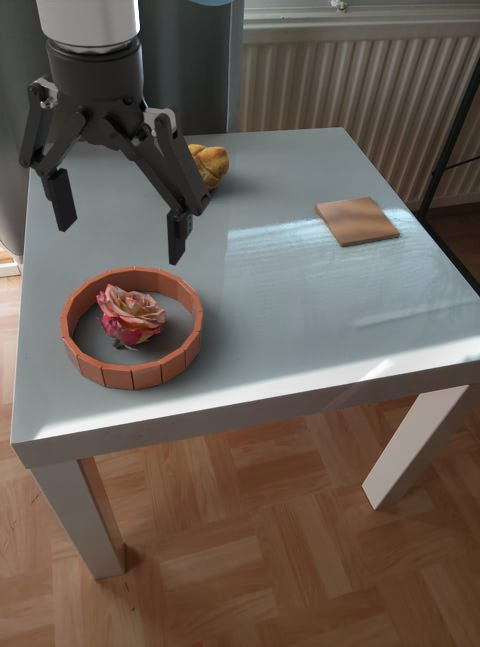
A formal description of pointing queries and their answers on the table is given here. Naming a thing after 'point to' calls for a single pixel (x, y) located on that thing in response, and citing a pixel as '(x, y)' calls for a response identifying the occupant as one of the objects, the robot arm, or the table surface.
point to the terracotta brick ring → (126, 281)
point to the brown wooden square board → (356, 221)
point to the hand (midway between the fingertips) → (121, 240)
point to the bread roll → (210, 163)
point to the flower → (129, 316)
